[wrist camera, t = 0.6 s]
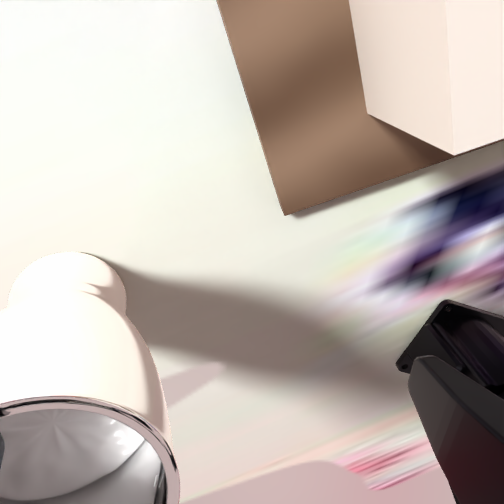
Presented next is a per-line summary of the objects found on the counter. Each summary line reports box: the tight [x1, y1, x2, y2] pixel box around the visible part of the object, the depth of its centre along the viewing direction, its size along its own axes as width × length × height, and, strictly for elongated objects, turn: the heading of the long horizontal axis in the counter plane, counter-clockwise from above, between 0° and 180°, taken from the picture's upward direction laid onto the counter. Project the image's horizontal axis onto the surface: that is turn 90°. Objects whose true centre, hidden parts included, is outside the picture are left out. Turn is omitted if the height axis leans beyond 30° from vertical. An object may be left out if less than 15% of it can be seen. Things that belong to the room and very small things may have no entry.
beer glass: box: [0, 252, 180, 504], centre depth 16 cm, size 7×7×15 cm
